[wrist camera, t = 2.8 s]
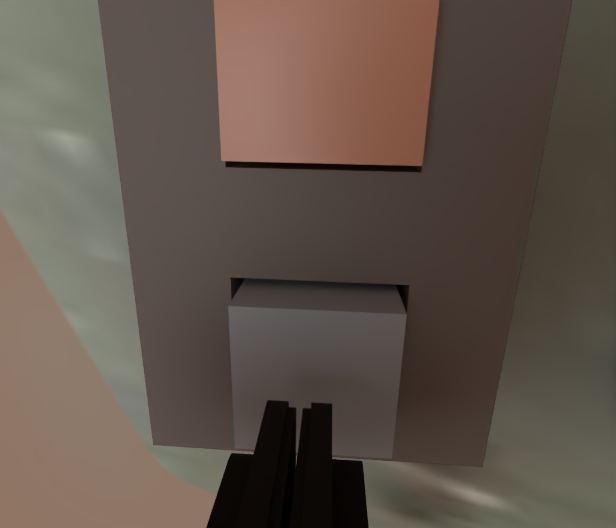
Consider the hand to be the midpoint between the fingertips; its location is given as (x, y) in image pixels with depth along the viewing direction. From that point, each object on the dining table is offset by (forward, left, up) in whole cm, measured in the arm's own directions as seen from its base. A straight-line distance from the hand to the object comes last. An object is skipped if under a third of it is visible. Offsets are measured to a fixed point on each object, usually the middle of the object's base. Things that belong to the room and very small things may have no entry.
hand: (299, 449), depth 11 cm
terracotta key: (-9, 0, -6) cm, 11 cm away
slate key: (0, 0, -6) cm, 6 cm away
